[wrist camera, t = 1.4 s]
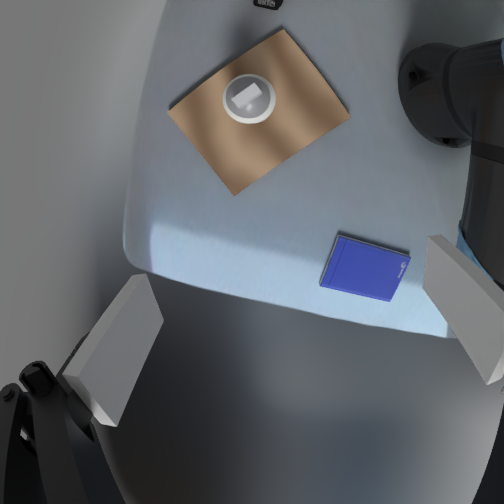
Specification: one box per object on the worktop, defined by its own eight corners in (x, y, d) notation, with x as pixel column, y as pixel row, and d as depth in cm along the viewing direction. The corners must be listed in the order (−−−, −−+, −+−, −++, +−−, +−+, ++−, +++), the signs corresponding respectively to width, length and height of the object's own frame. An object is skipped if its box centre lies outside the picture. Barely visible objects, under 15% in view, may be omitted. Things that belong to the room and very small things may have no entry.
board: (283, 31, 29) (283, 29, 28) (348, 117, 33) (350, 117, 32) (169, 112, 34) (167, 112, 33) (234, 194, 38) (233, 196, 37)
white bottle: (257, 76, 31) (252, 56, 20) (282, 108, 32) (288, 101, 22) (224, 100, 32) (204, 91, 22) (249, 131, 34) (240, 135, 23)
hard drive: (411, 258, 40) (339, 236, 39) (390, 302, 43) (319, 287, 42) (407, 253, 41) (337, 232, 40) (387, 297, 44) (318, 281, 44)
